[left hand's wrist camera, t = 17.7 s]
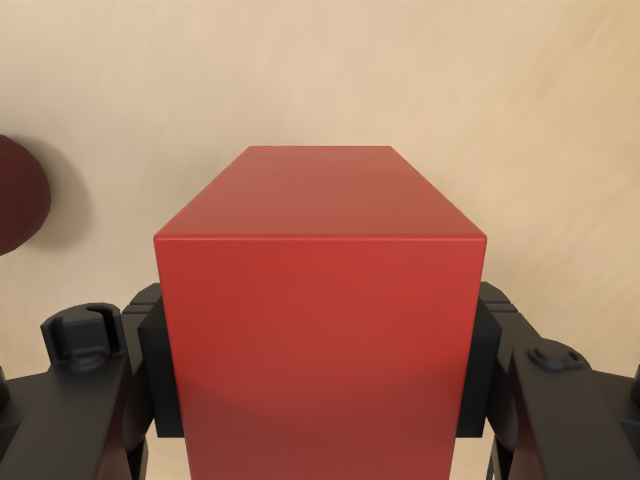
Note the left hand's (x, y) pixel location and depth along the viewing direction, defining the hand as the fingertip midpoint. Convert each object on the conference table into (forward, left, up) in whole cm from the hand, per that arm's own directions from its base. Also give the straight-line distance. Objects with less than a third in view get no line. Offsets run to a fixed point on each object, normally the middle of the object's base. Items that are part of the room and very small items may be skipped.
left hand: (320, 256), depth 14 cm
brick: (0, 0, -3) cm, 3 cm away
